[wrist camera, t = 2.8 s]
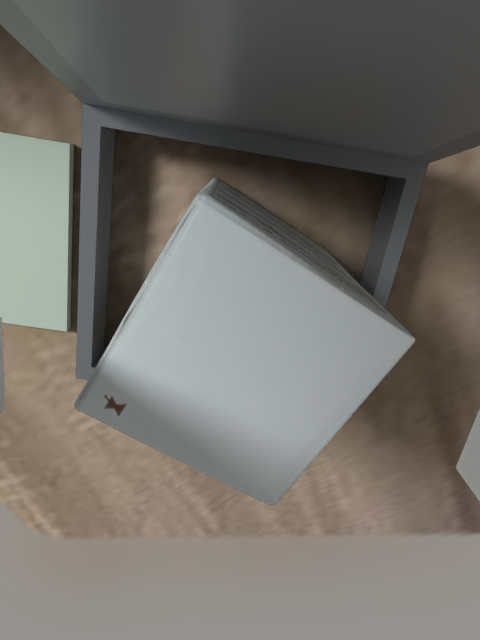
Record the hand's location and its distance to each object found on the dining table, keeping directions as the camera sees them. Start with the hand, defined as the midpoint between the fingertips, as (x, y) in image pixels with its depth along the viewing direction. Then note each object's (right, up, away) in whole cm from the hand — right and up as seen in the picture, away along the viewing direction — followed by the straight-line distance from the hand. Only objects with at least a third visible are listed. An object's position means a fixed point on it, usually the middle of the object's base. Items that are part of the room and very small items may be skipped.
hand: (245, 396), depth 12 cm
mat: (-14, +7, +11) cm, 19 cm away
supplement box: (0, +5, +12) cm, 13 cm away
